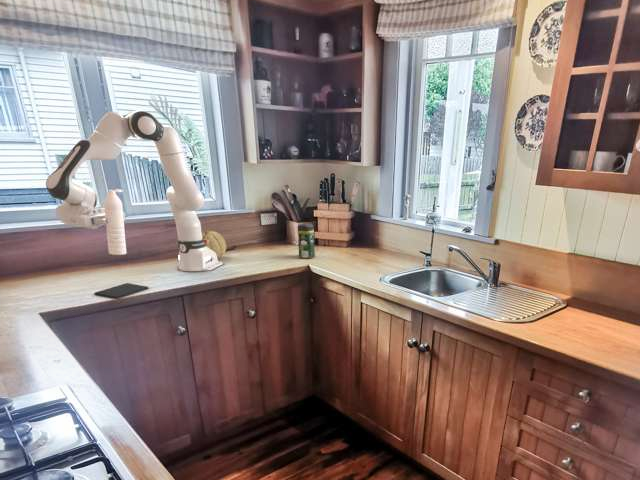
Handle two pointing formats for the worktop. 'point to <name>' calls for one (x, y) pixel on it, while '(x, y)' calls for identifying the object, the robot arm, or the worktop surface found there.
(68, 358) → the worktop surface
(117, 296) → the mat
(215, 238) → the ribbed yellow melon
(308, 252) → the pickle jar
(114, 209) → the water bottle
